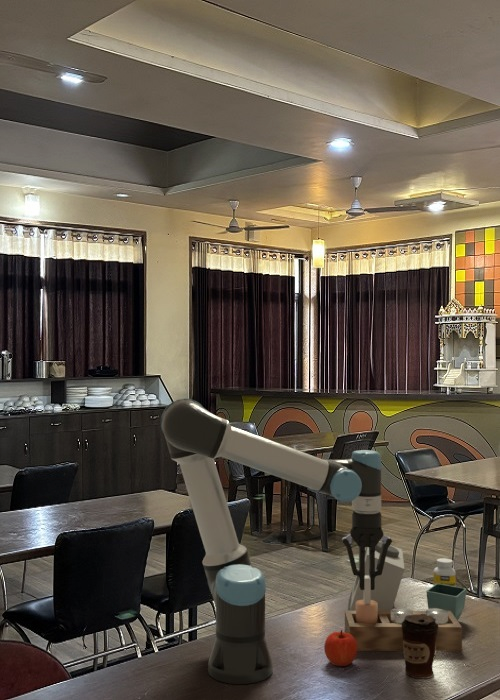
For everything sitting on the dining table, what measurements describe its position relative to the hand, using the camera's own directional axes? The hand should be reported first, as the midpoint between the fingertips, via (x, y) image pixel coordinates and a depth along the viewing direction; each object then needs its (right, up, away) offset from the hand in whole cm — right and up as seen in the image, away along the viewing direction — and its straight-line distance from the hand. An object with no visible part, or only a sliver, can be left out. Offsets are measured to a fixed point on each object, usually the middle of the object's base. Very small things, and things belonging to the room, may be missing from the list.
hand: (367, 602), depth 203 cm
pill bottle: (+29, -10, +34) cm, 46 cm away
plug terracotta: (0, -7, 0) cm, 7 cm away
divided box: (+9, -10, 0) cm, 14 cm away
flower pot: (+24, -10, +15) cm, 30 cm away
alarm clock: (+6, -10, +22) cm, 25 cm away
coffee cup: (+9, -11, -20) cm, 24 cm away
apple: (-8, -11, -14) cm, 19 cm away
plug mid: (+9, -9, 0) cm, 13 cm away
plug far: (+18, -9, 0) cm, 20 cm away
